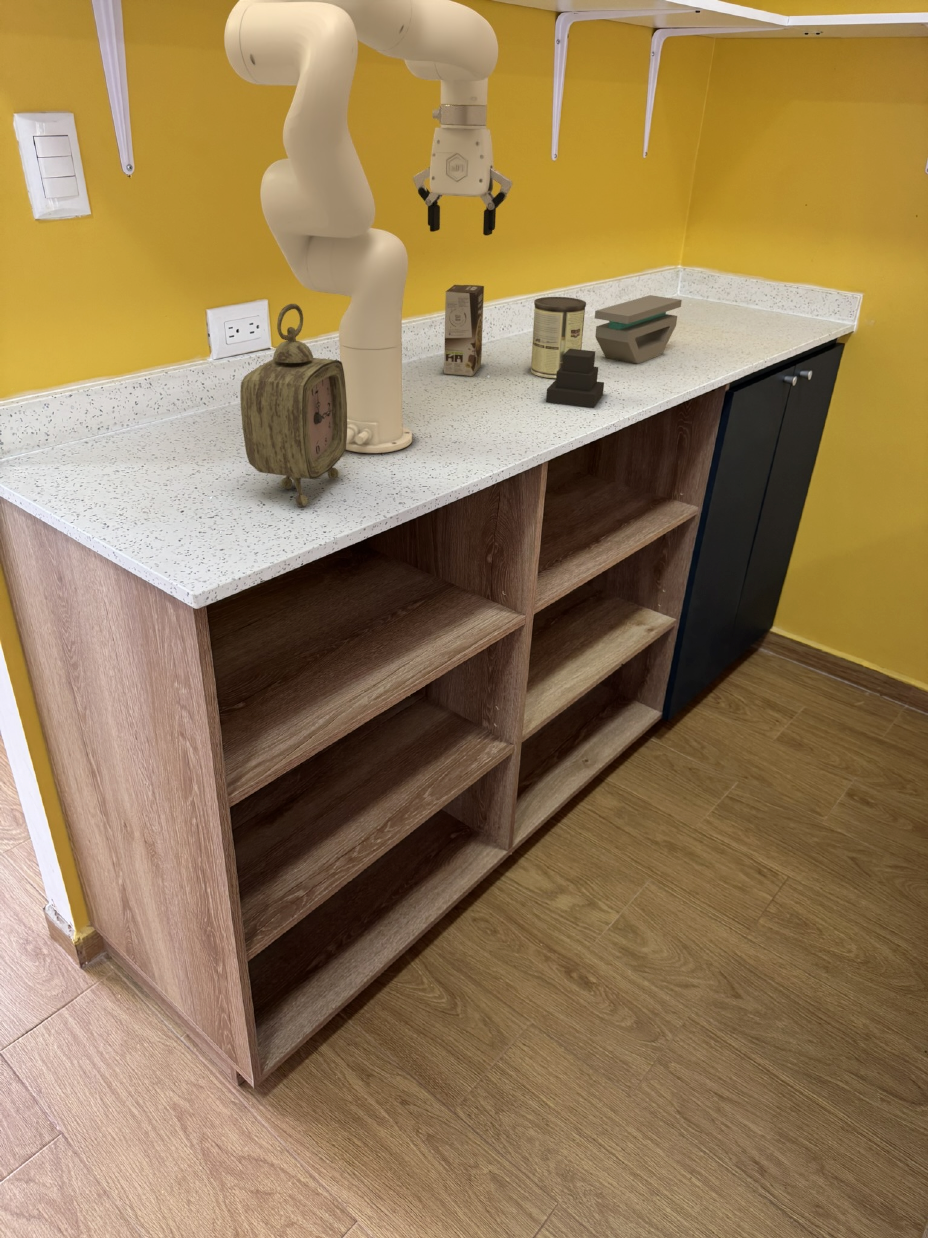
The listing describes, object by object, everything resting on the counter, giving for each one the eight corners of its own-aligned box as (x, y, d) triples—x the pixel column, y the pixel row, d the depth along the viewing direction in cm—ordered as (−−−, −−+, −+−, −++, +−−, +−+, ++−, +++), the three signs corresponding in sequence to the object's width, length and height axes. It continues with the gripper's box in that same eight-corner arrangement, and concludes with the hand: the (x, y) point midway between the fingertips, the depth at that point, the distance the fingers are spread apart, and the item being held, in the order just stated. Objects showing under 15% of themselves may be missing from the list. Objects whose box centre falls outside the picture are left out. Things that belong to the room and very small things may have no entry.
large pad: (593, 407, 161) (594, 394, 160) (545, 402, 164) (546, 388, 162) (602, 395, 169) (604, 382, 167) (557, 389, 171) (558, 376, 170)
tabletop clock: (308, 513, 117) (294, 318, 104) (246, 505, 119) (225, 312, 106) (349, 476, 129) (342, 296, 116) (293, 468, 131) (279, 291, 118)
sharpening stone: (644, 343, 207) (650, 294, 201) (674, 349, 203) (681, 299, 197) (590, 363, 189) (595, 310, 184) (622, 369, 185) (628, 316, 180)
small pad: (588, 373, 161) (590, 357, 159) (561, 370, 162) (563, 354, 160) (594, 367, 165) (595, 351, 163) (567, 364, 166) (569, 348, 165)
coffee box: (474, 376, 178) (476, 292, 169) (443, 374, 179) (444, 290, 170) (482, 365, 185) (485, 284, 177) (452, 363, 186) (454, 282, 178)
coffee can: (540, 363, 188) (544, 294, 181) (586, 369, 184) (592, 299, 177) (522, 374, 180) (526, 302, 173) (570, 381, 176) (576, 308, 169)
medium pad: (589, 391, 161) (591, 375, 160) (555, 387, 163) (556, 371, 162) (596, 382, 167) (598, 366, 165) (563, 378, 168) (564, 363, 167)
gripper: (405, 116, 142) (406, 231, 151) (508, 120, 138) (503, 238, 146) (422, 116, 148) (422, 227, 157) (521, 119, 144) (515, 233, 152)
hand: (461, 232), depth 152 cm, fingers open, 9 cm apart
